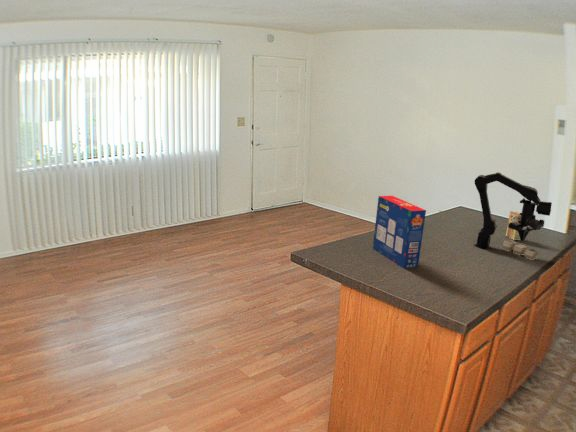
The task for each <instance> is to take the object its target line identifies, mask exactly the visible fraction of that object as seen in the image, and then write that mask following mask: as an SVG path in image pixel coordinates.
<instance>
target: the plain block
mask: <svg viewBox="0 0 576 432" xmlns="http://www.w3.org/2000/svg"><path fill="white" fill-rule="evenodd" d="M526 249H528V247H527V246H526V245H522V244H516V245H514V250H513V251H512V253H513V252H514V253H517V254H520V255H521V254H525V250H526ZM514 253H513V254H514Z"/></svg>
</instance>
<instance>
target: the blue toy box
mask: <svg viewBox="0 0 576 432" xmlns="http://www.w3.org/2000/svg"><path fill="white" fill-rule="evenodd" d="M376 208H377V209H376V216H375V226H374V234H373V241H372V250H374V251H376V252H377V253H379V254H380V255H382V256H384V258H385V257H386V258H387V259H388V260H389V261H391V262H393V263H394V264H396V265H397V266H399V267H401V268H402V269H412V268H413V269H414V268H419V262H420V257H421V256H420V255H421V248H422V240H423V233H424V227H425V219H426V213H427V210H426V209H424V208H422V207H419V206H417V205H414V204H413V203H410V202H409V201H406V200H403V199H401V198H398V197H396V196H394V195H378V198H377V206H376Z"/></svg>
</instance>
